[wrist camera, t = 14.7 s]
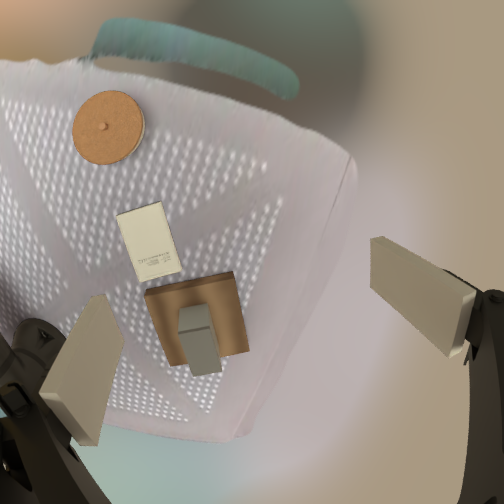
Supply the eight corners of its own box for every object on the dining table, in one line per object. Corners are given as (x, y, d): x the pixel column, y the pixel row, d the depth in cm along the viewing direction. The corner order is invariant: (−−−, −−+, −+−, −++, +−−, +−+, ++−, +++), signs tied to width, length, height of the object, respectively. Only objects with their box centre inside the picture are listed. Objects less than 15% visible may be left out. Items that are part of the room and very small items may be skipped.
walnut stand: (171, 357, 57) (170, 366, 54) (146, 289, 52) (143, 296, 49) (247, 342, 59) (249, 351, 56) (232, 271, 53) (234, 278, 50)
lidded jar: (78, 139, 41) (54, 138, 32) (117, 87, 39) (100, 74, 31) (123, 175, 45) (107, 181, 36) (164, 123, 43) (156, 116, 34)
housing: (192, 348, 54) (193, 376, 46) (179, 308, 51) (177, 334, 43) (218, 343, 54) (222, 371, 47) (207, 303, 51) (209, 328, 44)
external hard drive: (161, 200, 48) (182, 267, 52) (117, 214, 47) (140, 279, 51) (160, 201, 46) (182, 271, 51) (115, 216, 45) (138, 283, 50)
